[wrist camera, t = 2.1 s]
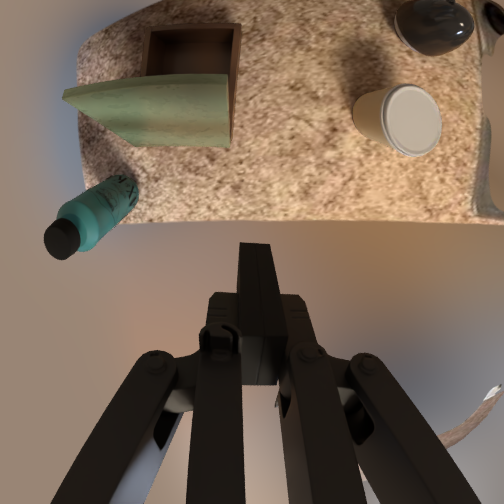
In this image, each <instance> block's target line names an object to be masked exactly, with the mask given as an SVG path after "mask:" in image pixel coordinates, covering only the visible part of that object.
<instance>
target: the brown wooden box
mask: <svg viewBox="0 0 504 504" xmlns="http://www.w3.org/2000/svg"><path fill="white" fill-rule="evenodd" d="M240 48H241V24H236V23H235V24H234V23H190V24H173V25H162V26H153V27H146V31H145V38H144V45H143V53H142V62H141V71H140V77H145V76H157V75H173V74H227V75H228V92H229V119H230V144H231V141H232V138H233V125H234V113H235V101H236V90H237V79H238V68H239V58H240Z"/></svg>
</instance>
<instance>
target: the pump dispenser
mask: <svg viewBox="0 0 504 504" xmlns="http://www.w3.org/2000/svg"><path fill="white" fill-rule="evenodd" d="M394 23H395V29H396V31H397V34H398V35H399V37H400V39H401V40H402V41H403V42H404V43H405V44H406V45H407V46H408V47H409V48H411V49H412V50H414V51H416V52H418V53H421V54H423V55H426V56H431V57H434V56H440V55H443V54H446V53H449V52H451V51H453V50H455V49H457V48H458V47H460V46H461V45H462V44H463V43H465V42H466V41H467V40H468V39H469V37H470V36H471V35H472V33H473V30H474V21H473V18H472V16H471V14H470V13H469V12H468V10H467V9H466V8H464V7H463V6H461V5H460V4H458V3H456V2H455V0H411V1H407V2H405V3H403V4H402V5H400V6H399V8H398V9H397V12H396V15H395V19H394Z"/></svg>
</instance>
